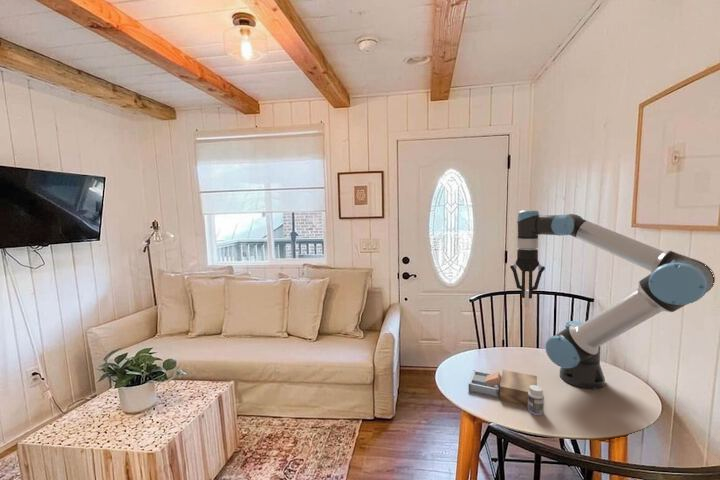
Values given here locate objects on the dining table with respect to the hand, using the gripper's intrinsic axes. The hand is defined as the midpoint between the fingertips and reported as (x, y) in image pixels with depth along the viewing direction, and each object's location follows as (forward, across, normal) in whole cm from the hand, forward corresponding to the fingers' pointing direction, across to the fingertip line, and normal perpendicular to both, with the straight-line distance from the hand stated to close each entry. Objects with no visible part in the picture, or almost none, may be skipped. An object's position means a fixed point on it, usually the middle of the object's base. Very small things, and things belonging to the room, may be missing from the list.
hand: (526, 305), depth 136 cm
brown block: (+29, +2, +17) cm, 34 cm away
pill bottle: (+30, -4, +27) cm, 40 cm away
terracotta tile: (+27, +10, +17) cm, 33 cm away
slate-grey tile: (+26, +16, +17) cm, 35 cm away
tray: (+29, +14, +17) cm, 37 cm away
